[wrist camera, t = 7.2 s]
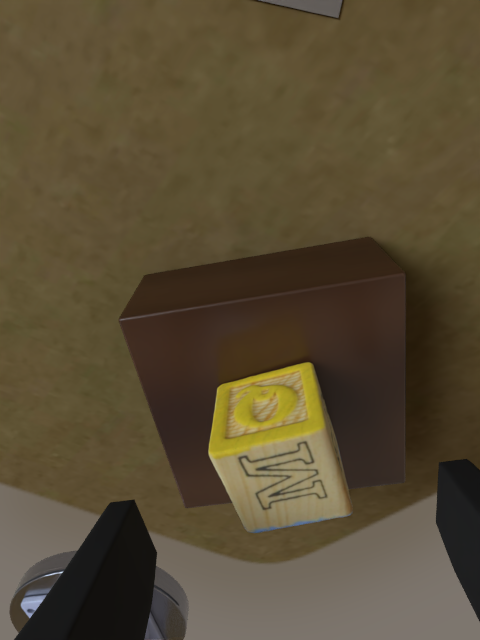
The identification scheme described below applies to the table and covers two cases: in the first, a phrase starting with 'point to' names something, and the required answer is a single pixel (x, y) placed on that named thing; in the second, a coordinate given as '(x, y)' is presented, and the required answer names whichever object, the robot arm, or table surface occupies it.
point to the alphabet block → (278, 450)
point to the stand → (276, 351)
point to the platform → (312, 6)
